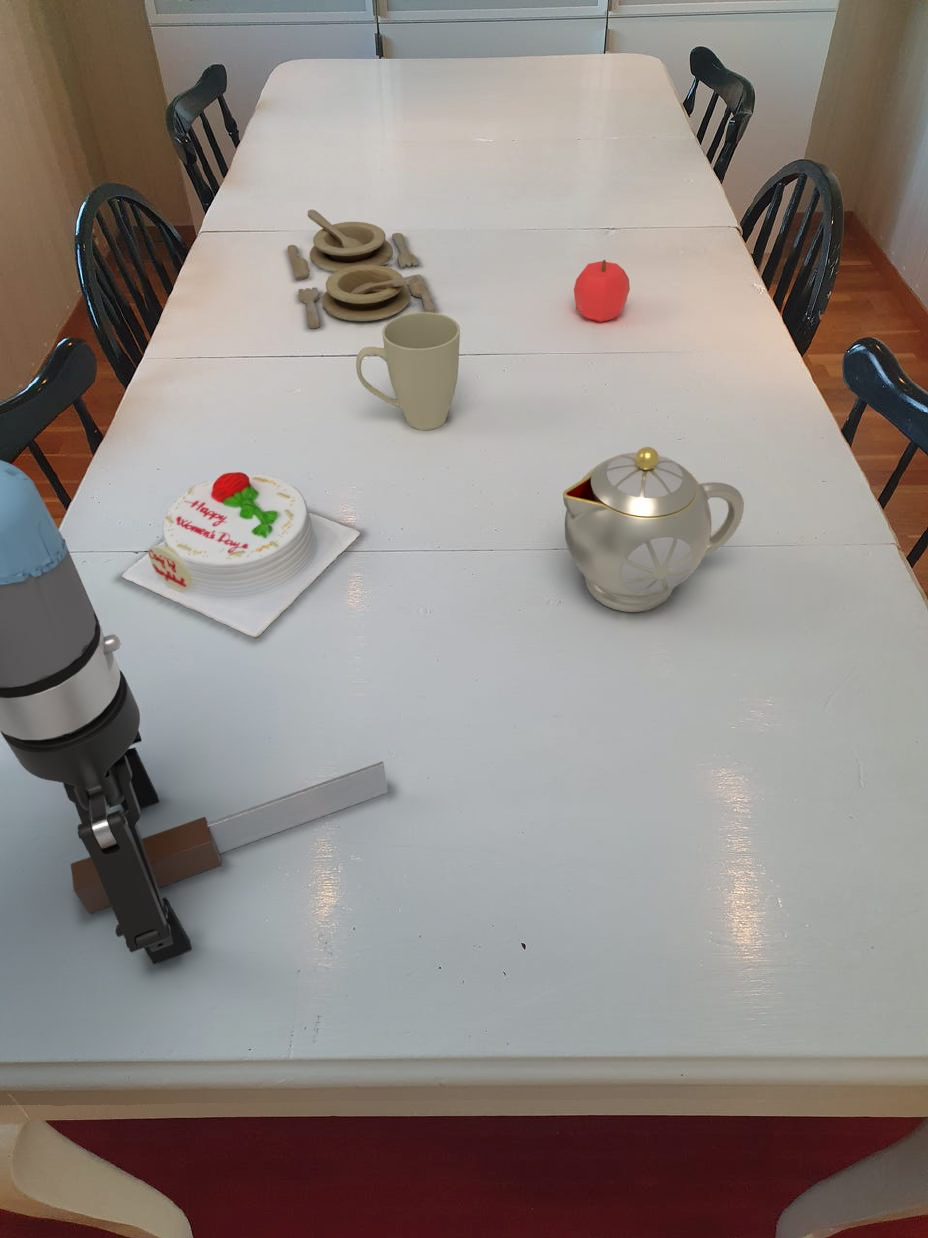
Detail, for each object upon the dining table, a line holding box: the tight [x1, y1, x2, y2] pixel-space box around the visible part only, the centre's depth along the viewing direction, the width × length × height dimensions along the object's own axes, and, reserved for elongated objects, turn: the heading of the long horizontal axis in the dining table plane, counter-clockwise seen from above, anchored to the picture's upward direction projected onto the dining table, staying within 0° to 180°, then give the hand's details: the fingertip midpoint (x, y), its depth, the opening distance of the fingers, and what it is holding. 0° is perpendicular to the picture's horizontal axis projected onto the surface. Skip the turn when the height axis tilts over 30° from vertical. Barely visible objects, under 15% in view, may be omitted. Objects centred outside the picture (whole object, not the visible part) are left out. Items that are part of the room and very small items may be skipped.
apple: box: [573, 259, 631, 323], centre depth 129 cm, size 8×8×8 cm
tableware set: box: [287, 209, 436, 330], centre depth 139 cm, size 30×20×6 cm, turn 14°
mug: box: [355, 311, 461, 431], centre depth 109 cm, size 11×10×12 cm
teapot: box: [562, 446, 745, 613], centre depth 85 cm, size 18×14×16 cm
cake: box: [120, 471, 361, 639], centre depth 93 cm, size 18×18×8 cm
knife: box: [70, 760, 389, 914], centre depth 70 cm, size 24×2×4 cm, turn 113°
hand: (156, 873), depth 69 cm, fingers open, 13 cm apart
